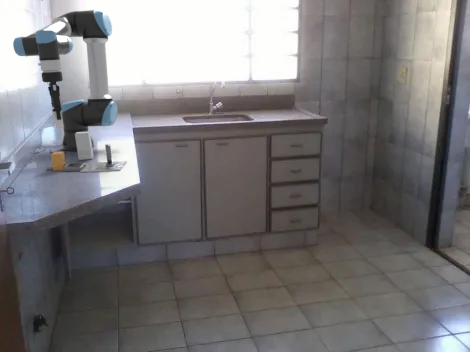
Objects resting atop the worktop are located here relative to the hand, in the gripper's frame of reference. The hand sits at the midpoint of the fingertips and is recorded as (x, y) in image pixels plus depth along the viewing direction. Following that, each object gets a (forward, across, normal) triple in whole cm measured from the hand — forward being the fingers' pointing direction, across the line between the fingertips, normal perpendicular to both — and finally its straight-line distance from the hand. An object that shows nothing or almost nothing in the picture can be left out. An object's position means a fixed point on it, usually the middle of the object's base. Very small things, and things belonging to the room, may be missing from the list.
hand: (59, 125), depth 197 cm
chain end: (+19, -3, 0) cm, 19 cm away
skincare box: (+19, -17, +10) cm, 27 cm away
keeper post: (+19, +3, +15) cm, 24 cm away
